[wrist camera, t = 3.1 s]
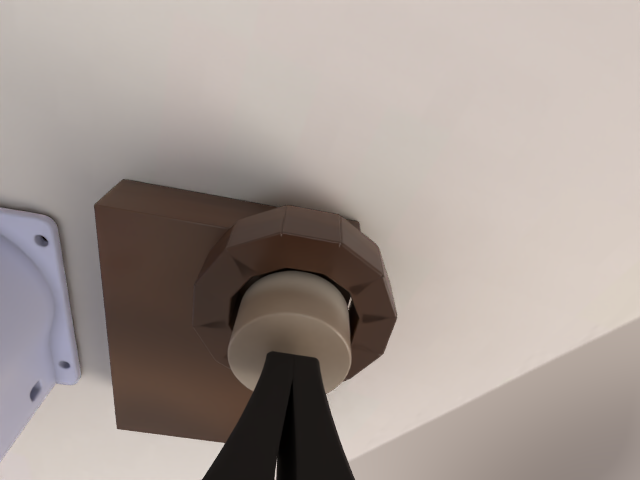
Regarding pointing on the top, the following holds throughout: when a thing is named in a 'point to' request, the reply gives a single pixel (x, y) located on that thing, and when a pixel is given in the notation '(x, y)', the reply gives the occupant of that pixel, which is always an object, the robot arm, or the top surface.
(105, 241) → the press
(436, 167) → the top surface
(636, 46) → the top surface
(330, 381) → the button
